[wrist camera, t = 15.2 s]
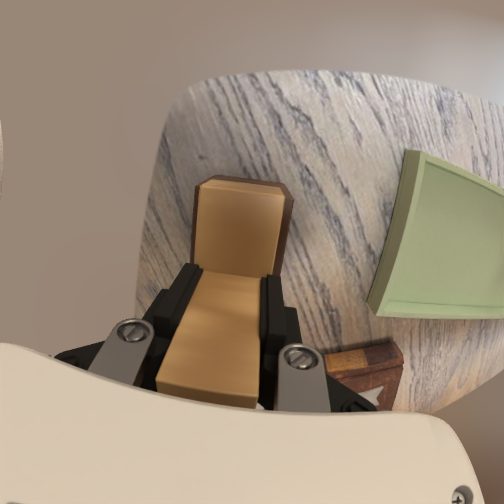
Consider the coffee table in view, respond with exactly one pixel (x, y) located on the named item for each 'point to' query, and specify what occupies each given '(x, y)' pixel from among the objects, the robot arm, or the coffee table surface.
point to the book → (368, 372)
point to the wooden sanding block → (225, 296)
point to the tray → (442, 245)
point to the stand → (283, 228)
